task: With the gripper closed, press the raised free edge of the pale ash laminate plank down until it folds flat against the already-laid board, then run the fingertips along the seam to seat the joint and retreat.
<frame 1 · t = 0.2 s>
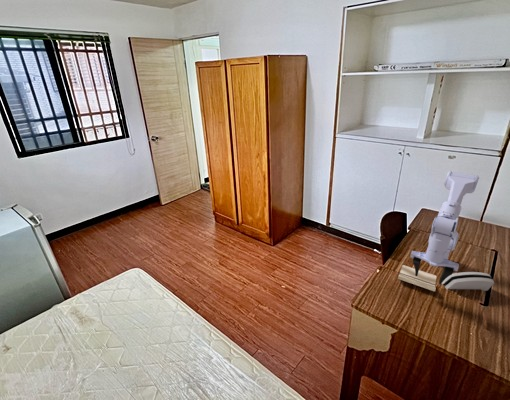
hand: (428, 278, 102), 9 cm above the table, fingers open, 7 cm apart
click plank: (416, 282, 110), point 2 cm above the table, hinge at 28.0°
hinge: (464, 289, 109), on the table
laid board: (417, 276, 116), on the table
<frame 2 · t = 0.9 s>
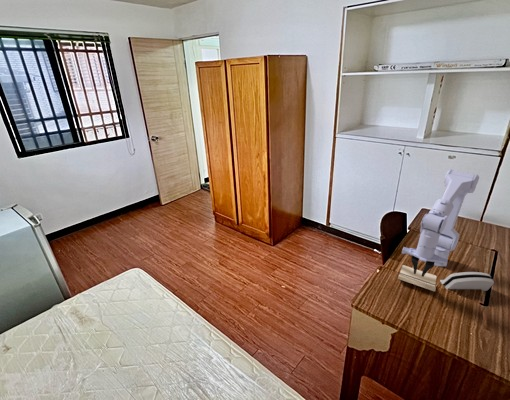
hand: (418, 273, 105), 8 cm above the table, fingers closed
nothing on the table moved.
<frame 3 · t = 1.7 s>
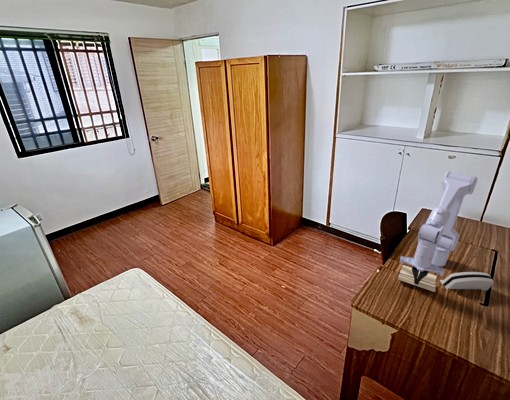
hand: (416, 282, 107), 4 cm above the table, fingers closed, pressing on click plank
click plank: (416, 282, 110), point 2 cm above the table, hinge at 26.1°, touching gripper
everything else where it was.
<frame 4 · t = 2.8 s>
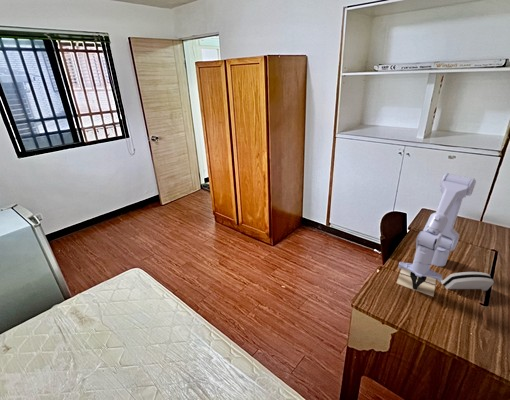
hand: (414, 287, 108), 1 cm above the table, fingers closed, pressing on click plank
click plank: (415, 285, 110), point 1 cm above the table, hinge at 1.8°, touching gripper
everything else where it was.
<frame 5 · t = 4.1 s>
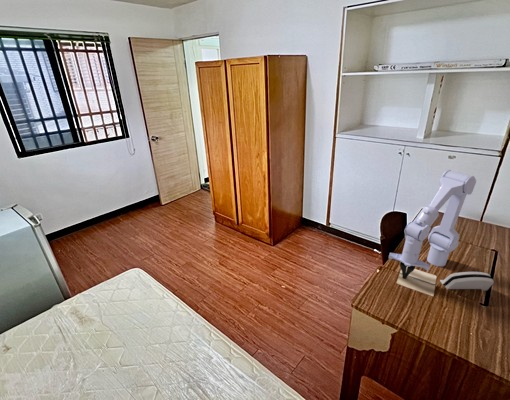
hand: (404, 277, 114), 1 cm above the table, fingers closed
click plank: (415, 285, 110), point 1 cm above the table, hinge at 1.7°
everything else where it was.
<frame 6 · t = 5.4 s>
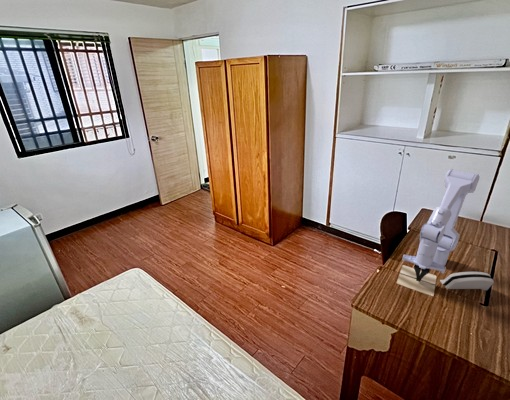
hand: (418, 279, 111), 2 cm above the table, fingers closed
nothing on the table moved.
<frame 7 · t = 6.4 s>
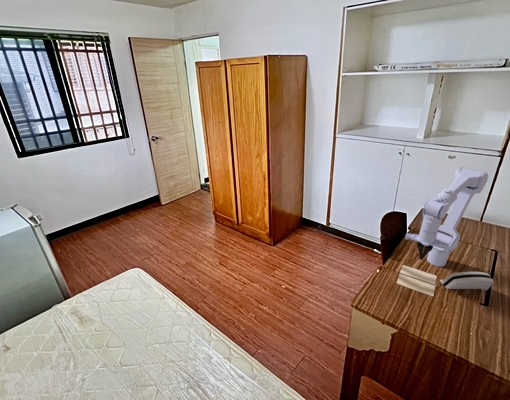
hand: (421, 258, 112), 10 cm above the table, fingers closed
nothing on the table moved.
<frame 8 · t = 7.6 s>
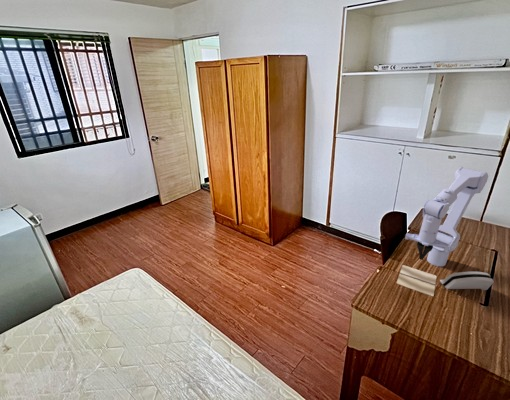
hand: (421, 258, 112), 10 cm above the table, fingers closed
nothing on the table moved.
at the end: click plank at +2° (first picture: +28°); hinge moved 0.5 cm from its start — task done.
